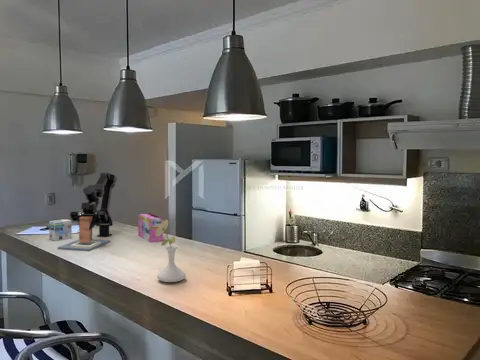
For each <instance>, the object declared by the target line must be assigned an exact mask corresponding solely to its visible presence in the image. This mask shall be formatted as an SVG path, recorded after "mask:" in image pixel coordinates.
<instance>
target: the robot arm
mask: <svg viewBox="0 0 480 360" xmlns="http://www.w3.org/2000/svg"><path fill="white" fill-rule="evenodd" d="M117 181H118V179H117V176H116V175H115V174H112V173H111V172H101V173H100V176H99V177H98V179H97V181H96V183H95V184H93V185H92V184H88V185H87V187H84V188H83V190H82V192H83V195H84V196H85V199H86V200H87V202H81V205H80V209H81V210H82V212H79V211H77V210H74V211H73V210H72V211H70V213H69V217H70V218H71V221H72V222H78V223H79V218H80V217H82V216H93V218H92V222H91V225H90V230H91V229H92V230H93V228H94V227H95V226H96V227H98V231H99V232H98V233H99V234H98V235H96V236H97V237H105V238H106V237H109V236H112V235H113V233H110V227H112V226H113V225H114V224H113V219H112V215H111V213H110V203H111V195H112V190H113V188H114V187H115V186H116V184H117V183H116V182H117ZM100 198H102V199H101V205H100ZM99 205H100V209H99V210H98V206H99Z"/></svg>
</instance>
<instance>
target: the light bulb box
mask: <svg viewBox="0 0 480 360" xmlns="http://www.w3.org/2000/svg"><path fill="white" fill-rule="evenodd" d="M72 222H73V220H72V219H67V218H65V219H56V220H49V222H48V226H49V230H48V231H49V233H48V234H49V236H48V237H49V240H51V241H63V240H69V239H72V238H73V237H72V236H73V235H72V233H73V230H72V229H73V228H72V226H73V224H72Z"/></svg>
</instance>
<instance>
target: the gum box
mask: <svg viewBox="0 0 480 360" xmlns="http://www.w3.org/2000/svg"><path fill="white" fill-rule="evenodd" d="M137 215H138V216H137V217H138V218H137V219H138V221H137V225H138V226H137V229H138V230H137V234H138V235H137V236H139V237H140V236H141V237H140V238H142V239H144V240H145V239H146V240H145V241H147V242H148V243H155V242H156V241H158V242H163V241H164V240H163V239H164V237H163V236H164V235H163V234H164V233H162V234H161V235H160V236H158V237H157V236H155V234H156V233H155V232H156V231H157V229H158V226H159V225H160V226H161V223H162V222H163V221H164V219H163V217H161V216H160V215H157V214H154V213H151V212H147V213H146V214H145V213H138V214H137ZM156 243H157V242H156Z"/></svg>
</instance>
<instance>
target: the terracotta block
mask: <svg viewBox="0 0 480 360" xmlns="http://www.w3.org/2000/svg"><path fill="white" fill-rule="evenodd" d="M92 219H93V216H82V217H80V218H79V222H78V228H79V229H78V230H79V231H78V233H79V234H78V240H79V242H90V241H92V239H93V228H92V229H91V230H90V225H91V222H92Z"/></svg>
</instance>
